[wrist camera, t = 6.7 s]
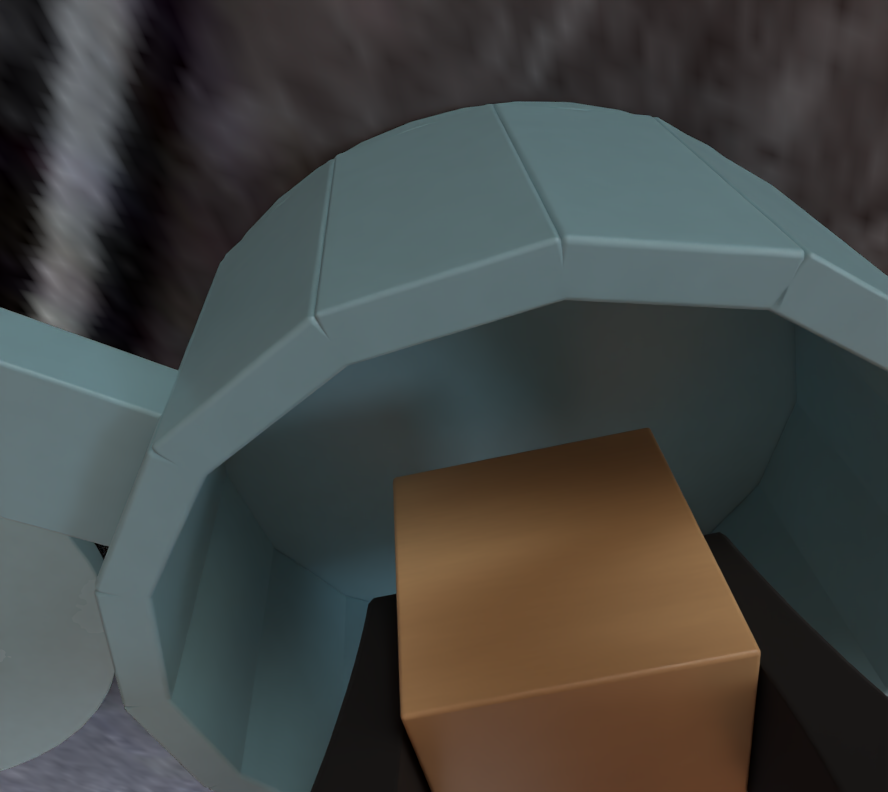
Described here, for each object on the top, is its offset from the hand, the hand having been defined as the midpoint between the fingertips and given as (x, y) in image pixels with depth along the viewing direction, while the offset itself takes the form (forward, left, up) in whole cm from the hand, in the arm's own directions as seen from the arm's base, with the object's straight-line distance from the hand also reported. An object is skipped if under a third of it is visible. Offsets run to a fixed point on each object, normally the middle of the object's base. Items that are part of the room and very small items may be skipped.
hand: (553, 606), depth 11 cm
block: (0, 0, -1) cm, 1 cm away
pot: (0, 0, -5) cm, 5 cm away
